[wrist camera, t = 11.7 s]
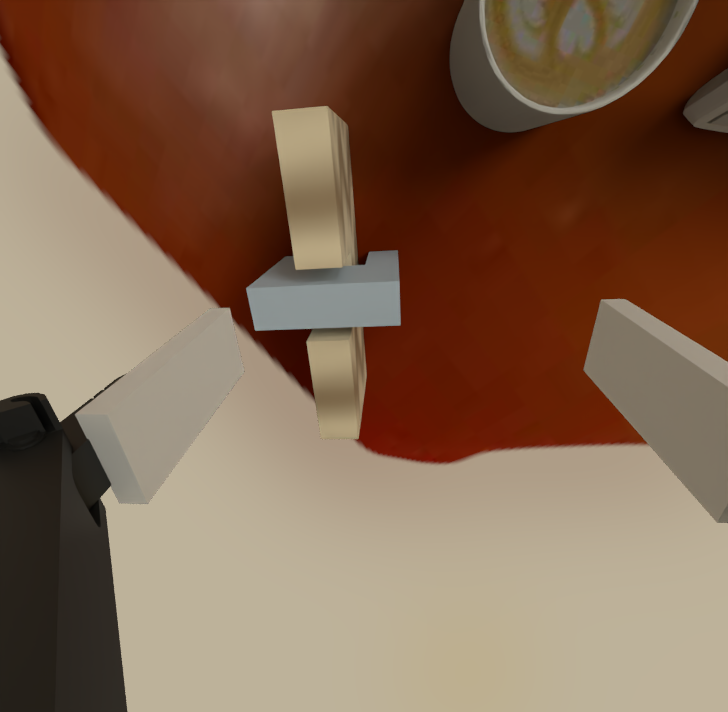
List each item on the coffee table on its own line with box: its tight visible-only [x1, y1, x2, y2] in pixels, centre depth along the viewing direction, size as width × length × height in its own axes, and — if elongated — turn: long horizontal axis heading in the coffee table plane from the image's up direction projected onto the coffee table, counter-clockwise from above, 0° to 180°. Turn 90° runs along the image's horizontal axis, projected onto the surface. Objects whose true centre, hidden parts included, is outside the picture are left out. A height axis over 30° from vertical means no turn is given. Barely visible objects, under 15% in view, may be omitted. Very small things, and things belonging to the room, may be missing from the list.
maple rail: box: [272, 106, 367, 439], centre depth 29 cm, size 22×3×10 cm, turn 4°
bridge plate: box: [246, 250, 401, 331], centre depth 29 cm, size 3×10×10 cm, turn 94°
